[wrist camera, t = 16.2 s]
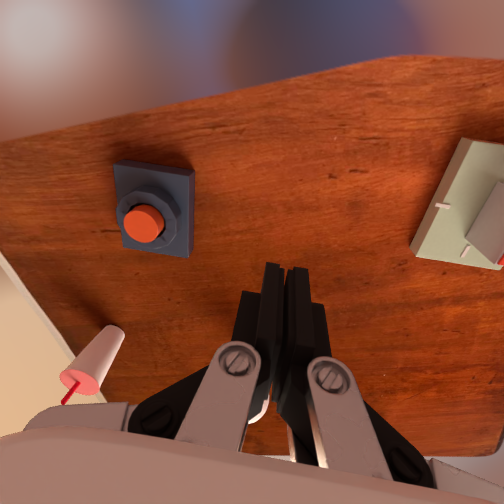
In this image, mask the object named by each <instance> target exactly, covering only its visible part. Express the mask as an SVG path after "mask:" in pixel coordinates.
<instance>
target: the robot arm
mask: <svg viewBox="0 0 504 504" xmlns="http://www.w3.org/2000/svg"><path fill="white" fill-rule="evenodd" d="M272 380H273V382H272ZM271 384H272V402H277V413H280V416H281V417H282V418H283V419H284V421H285V422H286V423H287V424H288V426H287V434H288V441H289V449H290V456H291V461H285V460H280V459H274V458H269V457H264V456H259V455H253V454H248V453H243V452H241V449H242V445H243V442H244V438H245V434H246V431H247V427H248V423H249V421H250V420H251V419H253V418H254V417H255V416H257V415H258V414H259V413H261V411H262V407H263V403H264V400H267V399H268V395H269V391H270V388H271ZM0 504H504V487H501V486H499V485H496V484H494V483H492V482H489V481H486V480H484V479H482V478H480V477H477V476H475V475H472V474H470V473H468V472H465V471H462V470H460V469H458V468H455V467H453V466H451V465H448V464H446V463H443V462H441V461H439V460H436V459H434V458H431V460H430V461H429V460H426V459H424V457H423V456H422V455H421V454H420V453H419V451H418V450H417V449H416V448H415V447H414V446H413V445H411V444H410V443H409V442H408V441H407V440H406V439H405V438H404V437H403V436H402V435H401V434H400V433H398V432H397V431H396V430H395V429H394V428H393V427H392V426H391V425H390V424H389V423H388V422H387V421H385V420H384V419H383V418H382V417H381V416H380V415H379V414H378V413H377V412H376V411H375V410H374V409H372V408H371V407H370V406H369V405H368V404H367V403H366V402H365V401H364V400H363V399H362V396H361V394H360V391H359V388H358V386H357V383H356V380H355V378H354V376H353V374H352V372H351V371H350V369H349V368H348V367H347V366H346V365H345V364H343V363H342V362H341V361H339V360H337V359H334V358H332V355H331V348H330V342H329V335H328V329H327V322H326V316H325V309H324V305H323V304H319V303H313V302H311V294H310V284H309V274H308V269H306V268H300V267H294V268H293V270H290V269H288V272H287V276H286V280H285V285H284V268H280V264H276V263H270V262H266V266H265V272H264V278H263V283H262V289H261V294H260V293H254V292H248V291H242V295H241V299H240V304H239V308H238V313H237V317H236V321H235V326H234V330H233V335H232V339H231V341H230V342H228V343H225V344H223V345H222V346H220V347H219V348H218V350H217V351H216V352H215V354H214V356H213V359H212V361H211V363H210V365H208V366H206V367H204V368H202V369H200V370H199V371H197V372H195V373H193V374H191V375H189V376H188V377H186V378H184V379H182V380H180V381H178V382H177V383H175V384H173V385H171V386H169V387H167V388H166V389H164V390H162V391H160V392H158V393H156V394H155V395H153V396H151V397H149V398H147V399H146V400H144V401H143V402H141V403H140V404H139V405H128V402H113V403H94V404H77V405H76V404H75V405H59V406H55V407H50V408H48V409H46V410H44V411H42V412H40V413H38V414H37V415H36V416H35V417H34V418H32V419H31V420H30V421H29V423H28V424H27V425H26V427H25V428H24V430H23V431H21V432H18V433H13V434H10V435H6V436H3V437H1V438H0Z"/></svg>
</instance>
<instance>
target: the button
mask: <svg viewBox="0 0 504 504" xmlns="http://www.w3.org/2000/svg"><path fill="white" fill-rule="evenodd" d="M124 228H125V230H126V232H127V233H128V235H129V236H130V237H132V238H133V239H135V240H136V241H139V242H144V243H146V242H151V241H153V240H154V239H155V238H156V237H157V236H158V235H159V234H160V232H161V231H162V230H163V228H164V219H163V216H162V215H161V213H160V212H159V211H158V210H157V209H156V208H154V207H153V206H150V205H146V204H142V205H138V206H136V207H135V208H134V209H132V210H131V211H130V212H129V213H128V214H127V215H126V216H125V218H124Z"/></svg>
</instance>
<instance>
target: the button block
mask: <svg viewBox="0 0 504 504" xmlns="http://www.w3.org/2000/svg"><path fill="white" fill-rule="evenodd" d="M113 170H114V178H115V186H116V194H117V202H118V206H117V207H116V216H117V224H118V225H119V227H120V228H121V234H122V242H123V247H124V248H130V249H136V250H142V251H148V252H154V253H160V254H166V255H172V256H178V257H184V258H188V257H189V256H190V254H191V252H192V250H193V237H194V191H195V171H194V170H188V169H182V168H176V167H169V166H163V165H157V164H150V163H144V162H137V161H131V160H125V159H123V160H121V161H118V162H116V163H114V164H113ZM142 204H146V205H150V206H153V207H154V208H156V209H157V210H158V211H159V212H160V213H161V215H162V216H163V219H164V228H163V230H162V231H161V232H160V234H159V235H158V236H157V237H156V238H155V239H154V240H153V241H151V242H146V243H144V242H139V241H136V240H135V239H133V238H132V237H130V236H129V235H128V233H127V232H126V230H125V228H124V218H125V216H126V215H127V214H128V213H129V212H130V211H131V210H132V209H134V208H135V207H136V206H138V205H142Z"/></svg>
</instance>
